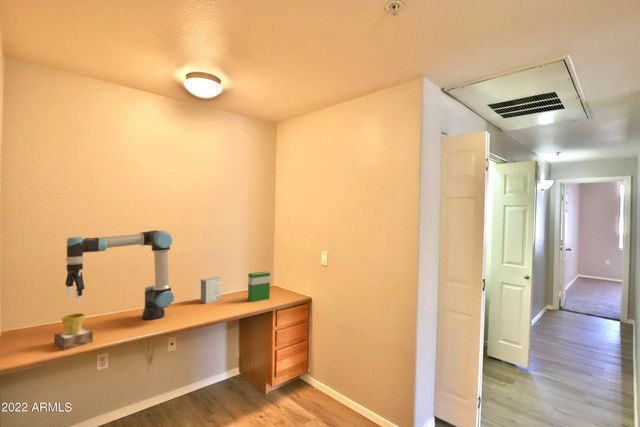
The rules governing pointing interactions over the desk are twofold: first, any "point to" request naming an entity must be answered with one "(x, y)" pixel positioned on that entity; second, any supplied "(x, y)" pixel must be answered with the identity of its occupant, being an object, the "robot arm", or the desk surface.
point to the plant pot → (73, 323)
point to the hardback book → (258, 286)
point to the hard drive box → (210, 289)
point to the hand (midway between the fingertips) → (74, 299)
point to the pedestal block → (73, 339)
